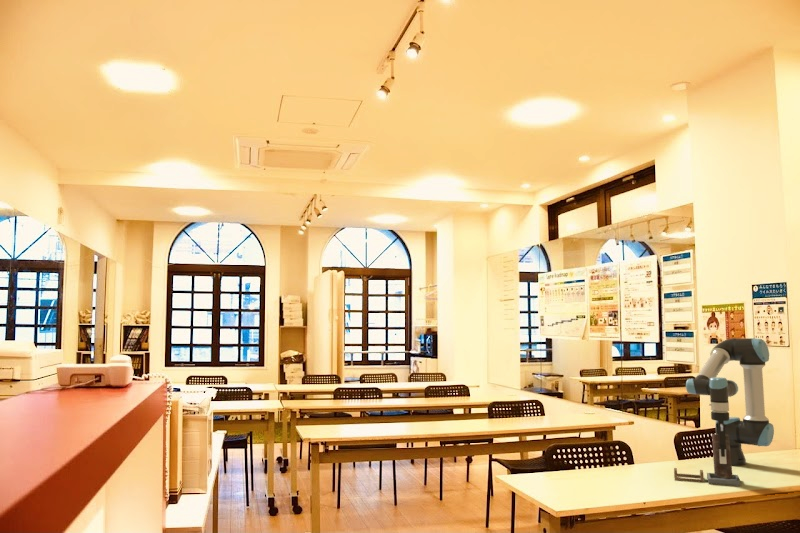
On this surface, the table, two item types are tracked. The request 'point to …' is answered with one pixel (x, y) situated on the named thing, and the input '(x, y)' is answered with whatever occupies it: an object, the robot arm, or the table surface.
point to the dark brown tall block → (719, 469)
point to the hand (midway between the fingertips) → (722, 461)
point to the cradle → (689, 476)
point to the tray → (723, 480)
